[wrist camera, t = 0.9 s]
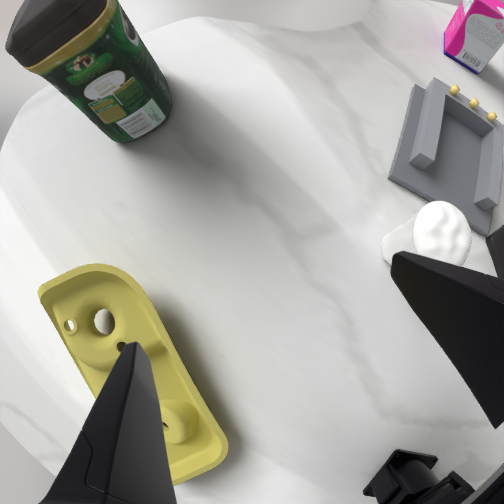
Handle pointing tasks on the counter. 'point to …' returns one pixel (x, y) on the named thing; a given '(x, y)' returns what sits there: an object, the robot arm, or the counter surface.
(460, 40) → the supplement box
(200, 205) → the counter surface
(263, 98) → the counter surface
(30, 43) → the coffee jar
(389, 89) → the counter surface
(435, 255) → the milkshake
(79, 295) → the plastic component
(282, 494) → the counter surface
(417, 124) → the header socket
